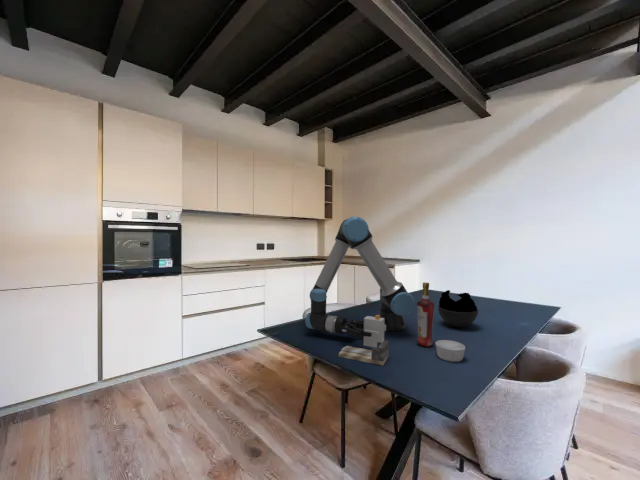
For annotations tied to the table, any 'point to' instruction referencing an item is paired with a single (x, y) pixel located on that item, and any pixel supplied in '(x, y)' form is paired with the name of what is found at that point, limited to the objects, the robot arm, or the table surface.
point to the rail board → (367, 353)
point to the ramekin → (450, 350)
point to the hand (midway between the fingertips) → (382, 331)
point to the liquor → (425, 318)
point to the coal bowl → (457, 310)
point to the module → (373, 325)
